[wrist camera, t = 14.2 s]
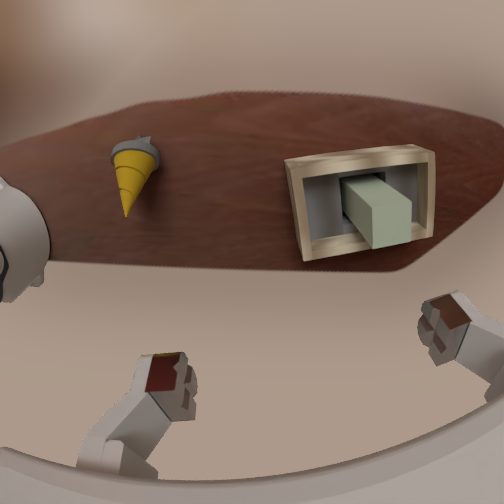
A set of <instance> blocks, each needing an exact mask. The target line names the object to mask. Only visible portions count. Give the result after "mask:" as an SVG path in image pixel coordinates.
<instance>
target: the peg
mask: <svg viewBox="0 0 504 504" xmlns="http://www.w3.org/2000/svg"><path fill="white" fill-rule="evenodd" d="M340 187H341V198H342V209H343V211H344V212H345V214H346V215H347V216H348V217H349V219H350V220H351V221H352V223H353V224H354V225H355V226H356V228H357V229H358V230H359V232H360V233H361V234H362V235H363V237H364V238H365V239H366V241H367V242H368V243H369V245H370V246H371V247H372V249H376V248H381V247H386V246H391V245H396V244H401V243H406V242H410V240H411V216H412V201H410V200H409V199H408V198H406V197H405V196H403V195H402V194H401V193H399V192H398V191H396V190H395V189H394V188H392V187H391V186H389V185H388V184H386V183H385V182H383V181H382V180H380V179H379V178H377V177H376V176H374V175H373V174H363V175H356V176H349V177H342V178H340Z"/></svg>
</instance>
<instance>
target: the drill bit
mask: <svg viewBox="0 0 504 504" xmlns="http://www.w3.org/2000/svg"><path fill="white" fill-rule="evenodd" d="M150 138H151V136H150V137H143V138H141V134H140V135H139V136H138V137H137V138H136V139H135V140H131V141H124V142H121V143H119V144H117V145H116V146H115V147H114V149H113V151H112V155H111V163H112V164H113V166H114V167H115V169H116V175H117V180H118V185H119V189H120V190H121V191H120V195H121V200H122V205H123V209H124V211H125V212H124V214H125V217H127V215H128V213H129V211H130V210H131V208H132V206H133V204H134V202H135V200H136V198H137V197H138V195H139V193H140V191H141V189H142V188H143V186H144V184H145V182H146V181H147V179H148V177H149V176H150V174H151V172H153V171H155V170H156V169H157V168H158V166H159V162H160V153H159V151H158V150H157V149H156V148H155V147H154V146H152V145H151V144H149V143H150Z"/></svg>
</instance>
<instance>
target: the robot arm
mask: <svg viewBox="0 0 504 504" xmlns="http://www.w3.org/2000/svg"><path fill="white" fill-rule="evenodd" d="M49 252H50V242H49V235H48V231H47V228H46V225H45V222H44V219H43V217H42V215H41V213H40V212H39V210H38V208H37V207H36V205H35V204H34V203H33V201H32V200H31V199H30V198H29V197H28V196H27V195H25V194H24V193H23V192H21V191H20V190H18V189H15V188H13V187H11V186H9V185H8V184H7V183H6V182H5V181H4V180H3V179H2V178H1V177H0V302H1V301H2V302H9V303H11V302H13V301H14V300H15V299H16V298H17V297H18V296H19V295H20V294H21V293H22V292H23V291H24V290H25V289H26V288H27V287H28V286H34V287H39V286H40V285H41V284H42V283H43V282H44V267H45V265H46V263H47V261H48V257H49ZM421 311H422V312H423V315H422V316H421V318H420V319H419V321H418V327H417V328H418V335H419V337H420V340H421V342H422V343H423V345H425V346H428V347H429V355H430V356H431V358H432V360H433V361H434V363H435V365H436V366H439V365H441V364H444V363H447V362H449V361H451V360H454V359H455V361H457V362H459V363H460V364H462V365H463V366H465V367H466V368H468V369H469V370H471V371H472V372H474V373H475V374H477V375H478V376H480V377H481V378H483V379H484V380H486V381H487V382H489V383H490V384H491V385H490V386H489V388H488V389H487V391H486V393H485V395H484V397H485V399H486V401H487V403H486V404H484V405H483V406H481V407H479V408H477V409H476V410H474V411H472V412H470V413H468V414H466V415H464V416H463V417H461V418H459V419H457V420H455V421H453V422H451V423H448V424H446V425H444V426H443V427H440V428H438V429H436V430H433V431H431V432H429V433H427V434H424V435H422V436H419V437H417V438H415V439H412V440H409V441H407V442H404V443H402V444H399V445H396V446H394V447H391V448H388V449H385V450H382V451H379V452H376V453H373V454H370V455H366V456H363V457H359V458H356V459H352V460H348V461H345V462H341V463H337V464H332V465H328V466H324V467H319V468H314V469H310V470H304V471H299V472H293V473H287V474H280V475H273V476H265V477H256V478H245V479H231V480H204V481H185V480H160V479H158V471H157V470H156V469H155V468H154V467H152V466H151V465H150V464H148V463H147V462H146V459H147V458H148V457H149V455H150V453H151V452H152V451H153V449H154V448H155V446H156V445H157V444H158V442H159V441H160V439H161V438H162V437H163V435H164V433H165V432H166V430H167V429H168V428H169V426H170V425H171V422H174V421H189V420H195V412H196V403H195V401H194V399H193V397H194V396H195V395H196V394H197V378H196V375H195V372H194V370H193V368H192V367H191V366H189V365H187V363H188V358H187V357H186V355H185V353H184V352H176V353H163V354H153V355H141V357H140V358H139V359H138V363H137V367H136V370H135V374H134V378H133V382H132V386H131V389H130V393H126V394H125V395H124V396H123V397H122V398H121V399H120V400H119V401H118V402H117V403H116V404H115V405H114V406H113V407H112V408H111V409H110V410H109V411H108V412H107V413H106V414H105V415H104V416H103V417H102V418H101V419H100V420H99V421H98V422H97V423H96V424H95V425H94V426H93V427H92V428H91V429H90V430H89V431H88V432H87V433H86V434H85V435H84V437H83V440H82V444H81V448H80V452H79V456H78V460H77V464H76V467H71V466H67V465H63V464H59V463H55V462H51V461H48V460H44V459H41V458H38V457H34V456H31V455H28V454H25V453H22V452H20V451H17V450H14V449H12V448H8V447H1V448H0V504H504V323H502V322H500V321H497V320H495V319H493V318H490V317H488V316H484V317H483V316H482V315H481V314H480V313H479V311H478V310H477V309H476V308H475V307H474V306H473V304H472V303H471V302H470V301H469V300H468V299H467V298H466V297H465V295H464V294H463V293H462V292H461V291H459V290H456V291H453V292H450V293H447V294H444V295H442V296H439V297H436V298H433V299H429V300H426V301H424V303H423V304H422V307H421Z"/></svg>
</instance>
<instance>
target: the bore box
mask: <svg viewBox="0 0 504 504" xmlns="http://www.w3.org/2000/svg"><path fill="white" fill-rule="evenodd" d="M284 163H285V168H286V174H287V180H288V186H289V192H290V198H291V205H292V211H293V217H294V224H295V231H296V238H297V242H298V245H299V249H300V252H301V255H302V258H303V261H309V260H314V259H319V258H325V257H330V256H335V255H341V254H346V253H351V252H356V251H362V250H367V249H372V247H371V246H370V245H369V243H368V242H367V241H366V239H365V238H364V237H363V235H362V234H361V233H360V232H359V230H358V229H357V228H356V226H355V225H354V224H353V223H352V221H351V220H350V219H349V217H348V216H347V215H343V216H342V205H341V194H340V184H339V177H346V176H353V175H360V174H368V173H375V172H377V178H379V179H380V180H382V181H383V182H385V183H386V184H388V185H389V186H391V187H392V188H394V189H395V190H396V191H398V192H399V193H401V194H402V195H403V196H405V197H406V198H408V199H409V200H410V201H412V216H411V240H410V241H412V240H417V239H422V238H427V237H432V236H433V225H434V208H435V152H433V151H430V150H427V149H424V148H422V147H419V146H416V145H413V144H411V145H398V146H386V147H376V148H366V149H357V150H349V151H341V152H333V153H326V154H319V155H312V156H305V157H299V158H293V159H287V160H284Z"/></svg>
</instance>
